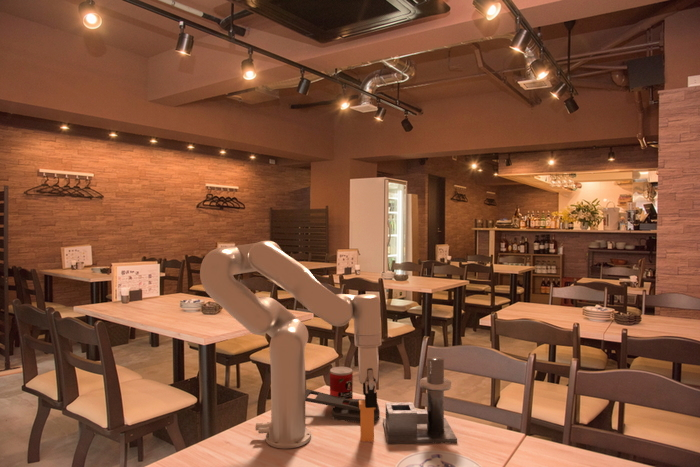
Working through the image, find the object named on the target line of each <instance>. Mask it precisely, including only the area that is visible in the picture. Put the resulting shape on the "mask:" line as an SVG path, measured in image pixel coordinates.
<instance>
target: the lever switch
mask: <svg viewBox="0 0 700 467" xmlns="http://www.w3.org/2000/svg"><path fill="white" fill-rule="evenodd" d="M419 386H420V388H421V389H423V390H425V391H426V408H425V409H424V408H423V409H416V408H415V405H414V403H413V401H412V402H410V401H408V402H407V401H404V402H399V401H398V402H396V401H395V402H385V418H382V424H383V428H384V432H385V438H386V442H387V445H403V444H404V445H412V444H413V445H416V444H418V445H420V444H424V445H425V444H458V437H457V436H456V434H455V433H454V431H453V429H452V427H451V425H450V424H449V422H448V421H447V419H446V418H447V417H445V414H444V413H445V392H446V391H449V390H451V389H452V381H451V380H450V379H448V378H446V377H445V359H444V358H443V357H441V356H429V357H427V358H426V376H425V377H421V378H420V380H419Z"/></svg>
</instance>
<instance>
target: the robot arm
mask: <svg viewBox="0 0 700 467" xmlns="http://www.w3.org/2000/svg"><path fill="white" fill-rule="evenodd" d="M199 269H200V271H199V278H200V282H201V285H202V287H203V289H204V291H205V293H206V294H207V295H208V296H209V297H210V298H211V299H212V300H213V301H214V302H215V303H217V305H219V306H220V307H221V308H222V309H223V310H225V311H226V312H227V314H228V315H230V316H232V318H233V319H234V320H236V321H237V322H238V323H239V324H241V325H242V327H244V328H245V329H246V330H247V331H248V332H250V333H251V334H253V335H258V336H262V335H265V334H267V335H268V336H269V338H271V339H270V342H269V348H268V349H269V351H268V352H269V360H270V390H271V391H270V400H271V401H270V406H271V407H270V408H271V409H270V411H271V412H270V413H271V414H270V417H271V419H270V421H268V422H266V423H263V422H260V423H259V422H256V423H255V431H258V434H265V442H266V443H267V444H268V446H271V447H272V448H276V449H283V450H284V449H287V450H288V449H294V448H299V447H302V446H304V445H305V444H308V443H309V442H310V440H311V438H312V432H311V430H309V428H307V427H306V401H305V390H306V358H305V356H306V355H305V354H306V346H307V343H308V341H309V331H308V328H307V326H306V325H305V323H303V321H302V320H300V319H299V318H298V317H296V315H294V313H292V312H291V311H290V310H288V309H287V307H285V306H284V305H283V304H281V303H280V302H279V301H277V300H276V299H274V298H272V297H270V296H260V297H259V296H258V295H257V294H255V293H254V292H253V291H251V290H250V288H248V287H247V286H246V285H245V284H244V283H242V282H240V281H238V280H237V279H236V278H235V277H234V275H240V274H245V273H246V274H247V273H253V272H257V273H259V274H260V275H261V276H263V277H265V278H266V279H268V280H269V281H271V282H272V283H274V284H275V285H277V286H278V287H280V288H281V289H283V290H284V291H286V292H287V293H288V294H290V296H292V298H294V299H295V300H296V301H297V302H298V303H299V304H301V305H302V306H303V307H304V308H305V309H307V310H308V311H309V312H311V313H312V314H314V315H315V316H317V317H318V318H320V319H321V320H322V321H324V322H326V323H327V324H328V325H331V326H334V327H343V326H346V325H347V324H348V323H350V321H351V320H353V333H354V338H353V339H354V346H355V347H357V349H358V350H357V356H358V358H357V361H358V362H357V365H358V380H359V384H361V385H362V393H363V394H362V395H364V400H365V407H366V408H376V407H377V403H378V391H377V385H376V384H377V383H378V381H379V356H378V351H379V350H378V347H381V346H382V345H383V344H382V322H381V321H382V320H381V319H382V318H381V313H382V312H381V299H380V297H379V296H378V295H376V294H373V293H372V294H370V293H367V294H364V293H363V294H358V295H355V294H347V293H346V294H345V293H338V294H335V293H334V292H333V291H331V290H330V289H328V288H327V287H326V286H324V285H323V284H322V283H321V282H320V281H319V280H317V279H316V278H315V276H314V275H313V274H312V272H311V271H310V270H309V268H307V267H306V265H303V264H301V263H300V262H299V261H298V260H296V259H295V258H293V257H291V256H289V254H287V253H285V251H283V250H282V248H281V247H280V246H279V244H278V243H277V242H274V241H273V240H261V241H258V242H255V243H254V242H253V243H249V244H248V243H247V244H239V245H234V246H233V245H231V246H225V247H217V248H215V249H212V250H211V251H209V252H208V253H207V254H205V256H204V258H203V259H202V262H201V264H200V268H199Z"/></svg>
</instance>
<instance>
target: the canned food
mask: <svg viewBox="0 0 700 467" xmlns="http://www.w3.org/2000/svg"><path fill="white" fill-rule="evenodd" d="M353 374H354V373H353V369H352V368H351V367H348V366H334V367H332V368H330V369H329V395H333V396H337V397H342V398H346V399H350V400H352V399H354V398H353V392H354V391H353V388H354V386H353V385H354V383H353V382H354V381H353V380H354V379H353V378H354V377H353ZM343 404H346V405H348V404H349V403H345V402H344V403H343Z"/></svg>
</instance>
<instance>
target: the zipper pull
mask: <svg viewBox="0 0 700 467" xmlns="http://www.w3.org/2000/svg"><path fill="white" fill-rule="evenodd" d="M310 395H312V396H313V395H314V396H316V397H315V398H310V397H309V396H310ZM359 400H365V398H364V399H362V398H353V399H352V400H350V399H346V398H342V397H337V396H333V395H330V393H329V394H328V393H325V392H321V391H317V390H312V389H308V388H305V403H306V402H308V403H312V404H319V405H324V406H330V407H332V409H331V417H332V419H333V420H334V421H342V422H347V423H348V422H350V423H357V424H360V409H359ZM344 402H345V403H349V404H348V405H346V404H343V403H344ZM379 420H380V406H379V403H378V402H377V407H376V408H375V409H374V424H376V423H377V422H378V421H379Z"/></svg>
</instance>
